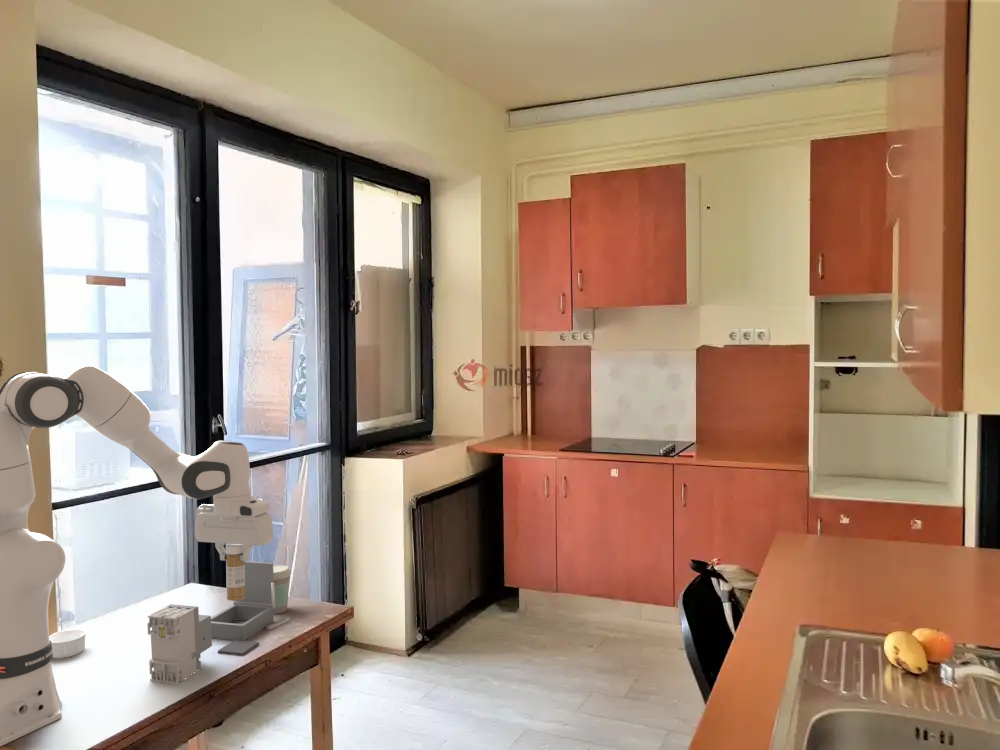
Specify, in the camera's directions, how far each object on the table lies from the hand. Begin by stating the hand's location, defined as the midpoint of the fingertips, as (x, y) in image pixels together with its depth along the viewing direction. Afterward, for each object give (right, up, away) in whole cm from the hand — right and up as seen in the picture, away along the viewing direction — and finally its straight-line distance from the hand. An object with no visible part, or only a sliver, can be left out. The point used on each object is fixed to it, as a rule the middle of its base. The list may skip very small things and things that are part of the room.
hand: (234, 560), depth 197 cm
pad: (+1, -22, +1) cm, 22 cm away
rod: (+6, -22, +17) cm, 28 cm away
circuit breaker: (-8, -23, -10) cm, 27 cm away
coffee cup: (+2, -21, +28) cm, 35 cm away
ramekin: (-43, -24, +2) cm, 49 cm away
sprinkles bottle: (0, -10, 0) cm, 10 cm away
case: (-4, -22, +14) cm, 26 cm away
